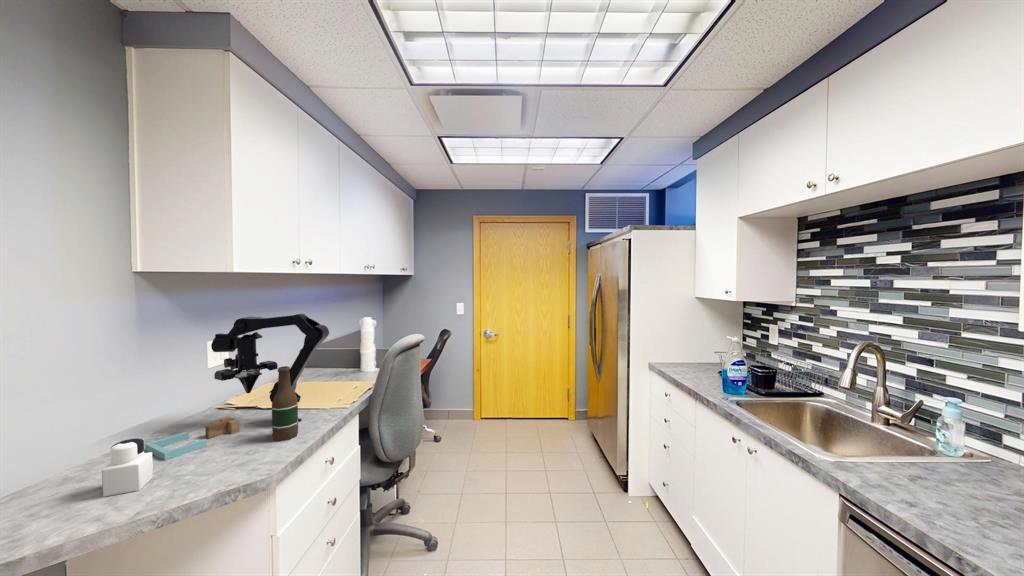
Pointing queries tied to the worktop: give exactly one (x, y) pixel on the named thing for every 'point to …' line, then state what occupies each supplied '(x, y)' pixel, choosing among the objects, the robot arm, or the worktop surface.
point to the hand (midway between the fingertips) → (248, 393)
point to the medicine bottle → (127, 468)
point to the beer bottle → (284, 408)
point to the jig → (168, 454)
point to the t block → (222, 427)
